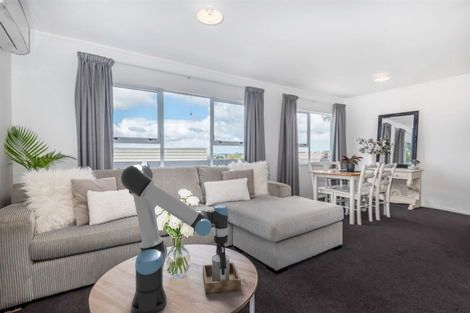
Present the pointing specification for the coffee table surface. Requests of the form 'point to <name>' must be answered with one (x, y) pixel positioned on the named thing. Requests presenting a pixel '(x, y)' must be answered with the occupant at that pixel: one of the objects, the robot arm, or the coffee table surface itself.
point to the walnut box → (224, 285)
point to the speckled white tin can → (216, 268)
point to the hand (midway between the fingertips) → (220, 273)
